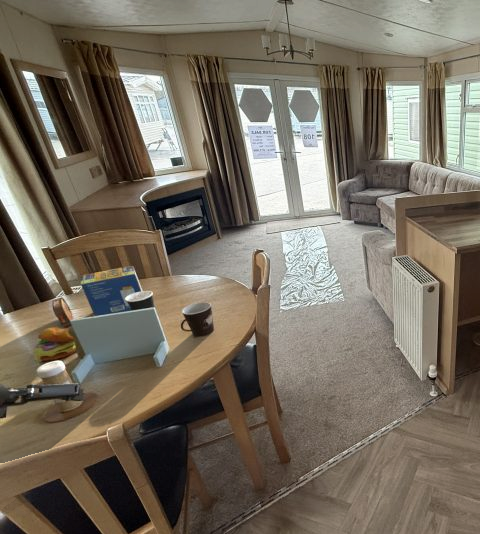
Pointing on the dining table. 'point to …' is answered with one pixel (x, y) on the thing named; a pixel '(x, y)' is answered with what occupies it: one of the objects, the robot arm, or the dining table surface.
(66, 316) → the tin
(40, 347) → the cheeseburger
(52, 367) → the sprinkles bottle
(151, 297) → the dixie cup
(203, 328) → the coffee mug
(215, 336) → the dining table surface
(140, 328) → the light blue standing panel
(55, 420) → the coaster
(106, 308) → the protein box
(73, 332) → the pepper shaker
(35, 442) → the dining table surface
